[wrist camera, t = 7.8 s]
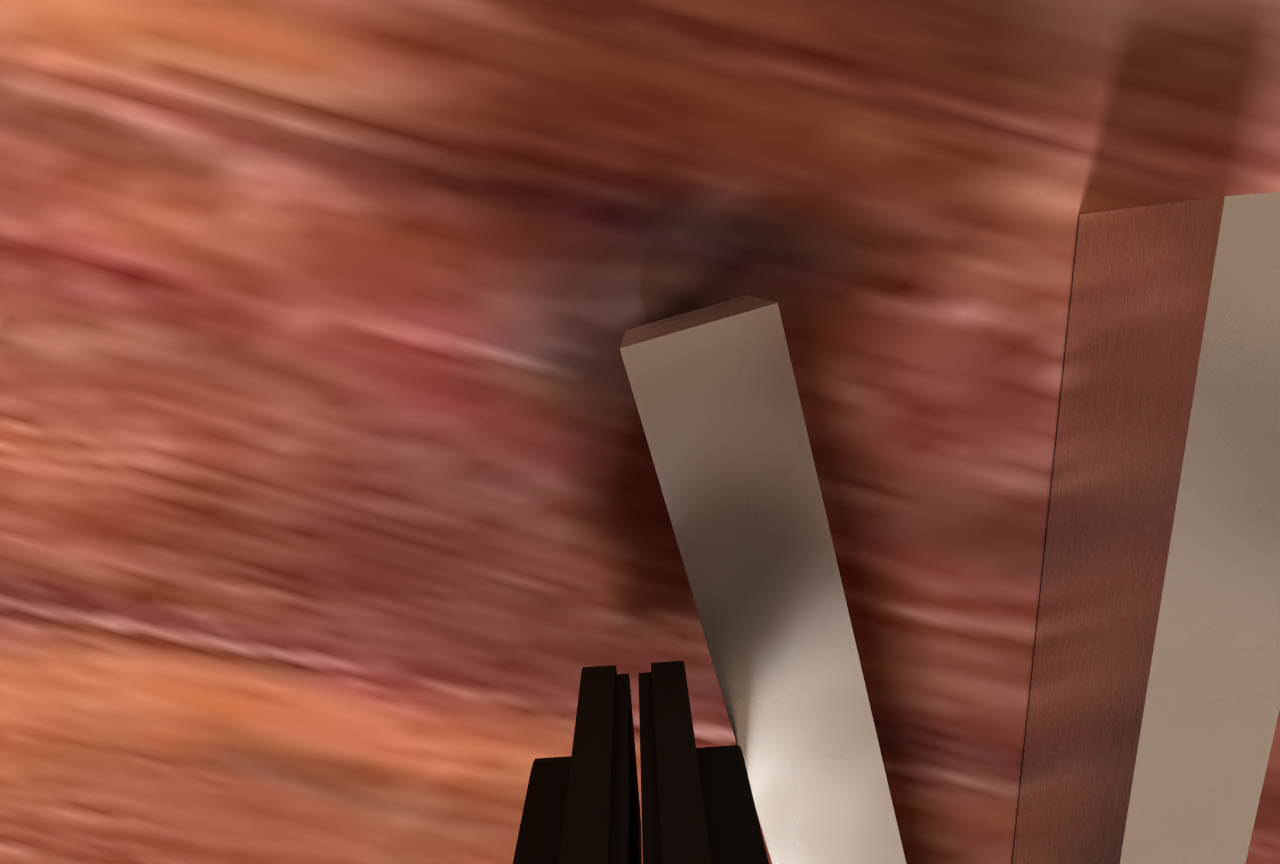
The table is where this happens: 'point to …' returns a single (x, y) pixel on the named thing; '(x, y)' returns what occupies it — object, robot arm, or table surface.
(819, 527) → the tongs jaw
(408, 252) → the table surface
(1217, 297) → the tongs fixed
